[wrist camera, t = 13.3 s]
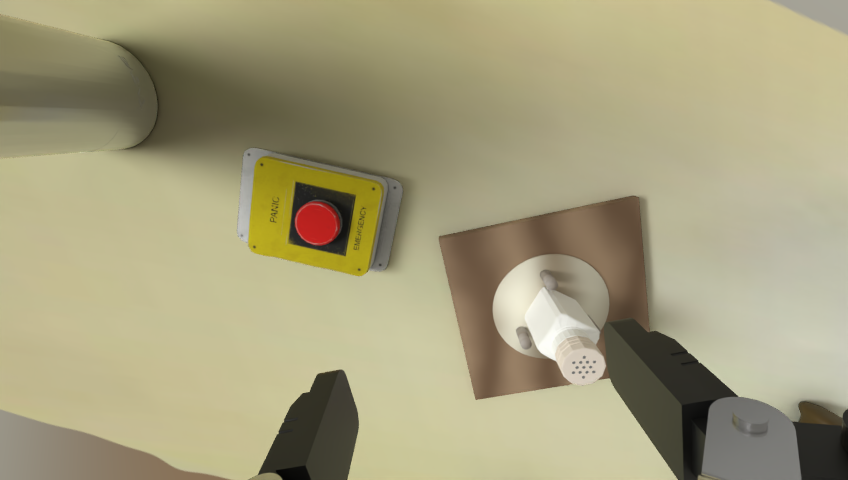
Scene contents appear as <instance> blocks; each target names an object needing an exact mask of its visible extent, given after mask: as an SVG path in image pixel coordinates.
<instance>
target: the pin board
mask: <svg viewBox="0 0 848 480" xmlns="http://www.w3.org/2000/svg"><path fill="white" fill-rule="evenodd" d="M439 243H440V247H441V251H442V256H443V260H444V264H445V269H446V273H447V277H448V282H449V286H450V290H451V295H452V299H453V303H454V308H455V312H456V316H457V321H458V325H459V329H460V334H461V338H462V342H463V347H464V351H465V355H466V360H467V364H468V369H469V373H470V377H471V382H472V386H473V390H474V395H475V399H476V400H478V399H484V398H490V397H496V396H502V395H508V394H514V393H521V392H527V391H533V390H539V389H545V388H551V387H557V386H564V385H570V384H572V383H571V382H569V381H568V380H567V379H566V378H565V377H564V376H563V374H562V372H561V370H560V368H559V366H558V364H557V362H556V361H554V360H552V359H550V358H549V357H547V356H545V355H543V354H542V353H540V351H539V350H538V349H537V347H536V345H535V342H534V340H533V337H532V335H531V333H530V330H529V328H528V326H527V323H526V321H525V314H526V312H527V310H528V309H529V307H530V306H531V304H532V302H533V301H534V299H535V298H536V296H537V294H538V293H539V291H540V290H541V289H542V288H543V287H547V288H548V289H549V290H556V291H558V292H560V293H562V294H564V295H566V296H568V297H570V298H573V299H575V300H576V301H577V302H578V303H579V305H580V306H581V307H582V309H583V310H584V311H585V313H586V314H587V315H588V317H589V318H590V319H591V321H592V322H593V323H594V325H595V326H596V327H597V329H598V330H599V331H600V334H599V340H598V341H597V343H596V346H597V348H598V349H599V350H600V352H601V353H602V355H603V356H604V360H605V364H606V368H605V370H604V373H603V376H602V377H600V378H599V379H598V380H600V379H607V378H610V376H609V373H608V369H607V360H606V349H605V338H604V324H605V322H609V321H615V320H620V319H626V318H633V319H635V320H636V321H637V322H638V323H639V324H640V325H641V326H642V327H643V328H644V329H645V330H646V331H647V332H650V329H649V317H648V304H647V292H646V280H645V267H644V255H643V243H642V230H641V218H640V205H639V198H638V197H636V196H629V197H625V198H620V199H615V200H610V201H606V202H601V203H596V204H591V205H587V206H582V207H577V208H572V209H568V210H563V211H558V212H553V213H548V214H544V215H539V216H534V217H529V218H525V219H520V220H515V221H510V222H506V223H501V224H496V225H491V226H487V227H482V228H477V229H472V230H467V231H463V232H458V233H453V234H448V235H444V236H439Z"/></svg>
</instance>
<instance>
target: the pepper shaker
mask: <svg viewBox="0 0 848 480" xmlns="http://www.w3.org/2000/svg"><path fill="white" fill-rule="evenodd" d="M525 321H526V323H527V326H528V328H529V330H530V333H531V335H532V337H533V340H534V342H535V345H536V347H537V349H538V350H539V351H540V353H542V354H543V355H545V356H547V357H549V358H550V359H552V360H554V361H556V362H557V364H558V366H559V368H560V370H561V372H562V374H563V376H564V377H565V378H566V379H567V380H568V381H569V382H571V383H572V384H577V385H582V386H583V385H587V384H591V383H594V382H596V381H597V380H598V379H599V378H600V377H602V376H603V373H604V370H605V368H606V364H605V360H604V356H603V355H602V353H601V352H600V350H599V349H598V348H597V346H596V343H597V341H598V340H599V334H600V331H599V330H598V329H597V327H596V326H595V325H594V323H593V322H592V321H591V319H590V318H589V317H588V315H587V314H586V313H585V311H584V310H583V309H582V307H581V306H580V305H579V303H578V302H577V301H576V300H575V299H573V298H570V297H568V296H566V295H564V294H562V293H560V292H558V291H556V290H549V289H548V288H547V287H543V288H542V289H541V290H540V291H539V293H538V294H537V296H536V298H535V299H534V301H533V302H532V304H531V306H530V307H529V309H528V310H527V312H526V314H525Z"/></svg>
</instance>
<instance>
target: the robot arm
mask: <svg viewBox="0 0 848 480" xmlns="http://www.w3.org/2000/svg"><path fill="white" fill-rule="evenodd" d="M157 109H158V104H157V95H156V92H155V88H154V85H153V82H152V80H151V78H150V76H149V74H148V72H147V71H146V70H145V68H144V67H143V65H142V64H141V63H140V61H138V60H137V59H136V58H135V57H134V56H133V55H132V54H131V53H130V52H129V51H127V50H126V49H124V48H123V47H121V46H119V45H117V44H114V43H112V42H110V41H106V40H102V39H98V38H94V37H90V36H86V35H82V34H78V33H74V32H69V31H66V30H62V29H58V28H54V27H50V26H46V25H42V24H38V23H34V22H30V21H26V20H22V19H18V18H14V17H10V16H6V15H2V14H0V159H3V158H15V157H28V156H40V155H53V154H65V153H78V152H93V151H106V150H118V149H126V148H130V147H133V146H135V145H137V144H139V143H141V142H142V141H143V140H144V139H145V138H146V137H147V136H148V135H149V134H150V132H151V130H152V129H153V127H154V124H155V121H156V118H157ZM604 338H605V349H606V360H607V369H608V373H609V376H610V379H611V382H612V384H613V386H614V388H615V389H616V391H617V392H618V394H619V395H620V397H621V398H622V400H623V401H624V402H625V404H626V405H627V407H628V408H629V410H630V411H631V413H632V414H633V415H634V417H635V418H636V420H637V421H638V423H639V424H640V425H641V427H642V428H643V430H644V431H645V433H646V434H647V436H648V437H649V438H650V440H651V441H652V443H653V444H654V446H655V447H656V449H657V450H658V451H659V453H660V454H661V456H662V457H663V459H664V460H665V462H666V463H667V464H668V466H669V467H670V469H671V470H672V472H673V473H674V474H675V476H676V477H677V479H678V480H848V409H847V410H846V411H845V412H844V414H843V419H842V426H840V425H826V424H813V423H801V422H793V421H791V420H790V419H789V418H788V417H787V416H786V415H785V414H783V413H782V412H781V411H779V410H778V409H776V408H774V407H772V406H770V405H768V404H766V403H763V402H760V401H757V400H753V399H749V398H743V397H738V396H737V395H736V394H735V393H734V392H733V391H732V390H730V389H729V388H728V387H727V386H726V385H725V384H724V383H723V382H722V381H720V380H719V379H718V378H717V377H716V376H715V375H714V374H713V373H711V372H710V371H709V370H708V369H707V368H706V367H705V366H704V365H702V364H701V363H699V362H698V360H697V359H696V358H695V357H694V356H692V355H691V354H690V353H688V352H687V350H686V349H685V348H683V347H682V346H681V345H680V344H679V343H678V342H677V341H676V340H675V339H672V338H670V337H668V336H666V335H664V334H661V333H659V332H657V331H654V332H647V331H646V330H645V329H644V328H643V327H642V326H641V325H640V324H639V323H638V322H637V321H636V320H635V319H633V318H626V319H620V320H615V321H609V322H605V324H604ZM358 428H359V420H358V412H357V408H356V405H355V402H354V399H353V396H352V393H351V389H350V386H349V383H348V380H347V377H346V374H345V372H344V371H343V370H336V371H330V372H325V373H319V374H318V375H317V376H316V378H315V381H314V383H313V385H312V387H311V390H310V392H307V393H303V394H302V395H301V396H300V397H299V398H298V399H297V400H296V401H295V402H294V403H293V404H292V405H291V407H290V409H289V411H288V413H287V415H286V417H285V419H284V423H282V426H281V428H280V430H279V434H277V436H276V438H275V440H274V442H273V444H272V446H271V448H270V451H269V453H268V455H267V457H266V459H265V461H264V463H263V465H262V467H261V469H260V471H259V474H258V475H257V476H254V477H252V478H250V479H249V480H347V478H348V474H349V470H350V465H351V461H352V456H353V452H354V447H355V443H356V438H357V434H358Z"/></svg>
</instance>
